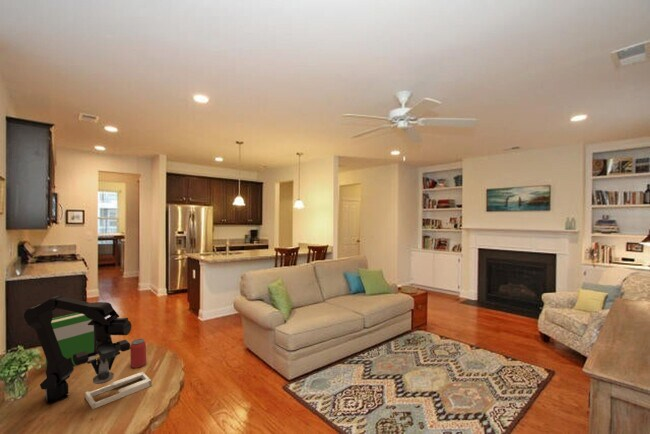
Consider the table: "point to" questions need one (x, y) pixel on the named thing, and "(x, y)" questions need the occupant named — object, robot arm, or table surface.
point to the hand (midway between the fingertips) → (103, 371)
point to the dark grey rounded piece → (103, 372)
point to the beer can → (138, 353)
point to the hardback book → (73, 334)
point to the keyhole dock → (122, 392)
